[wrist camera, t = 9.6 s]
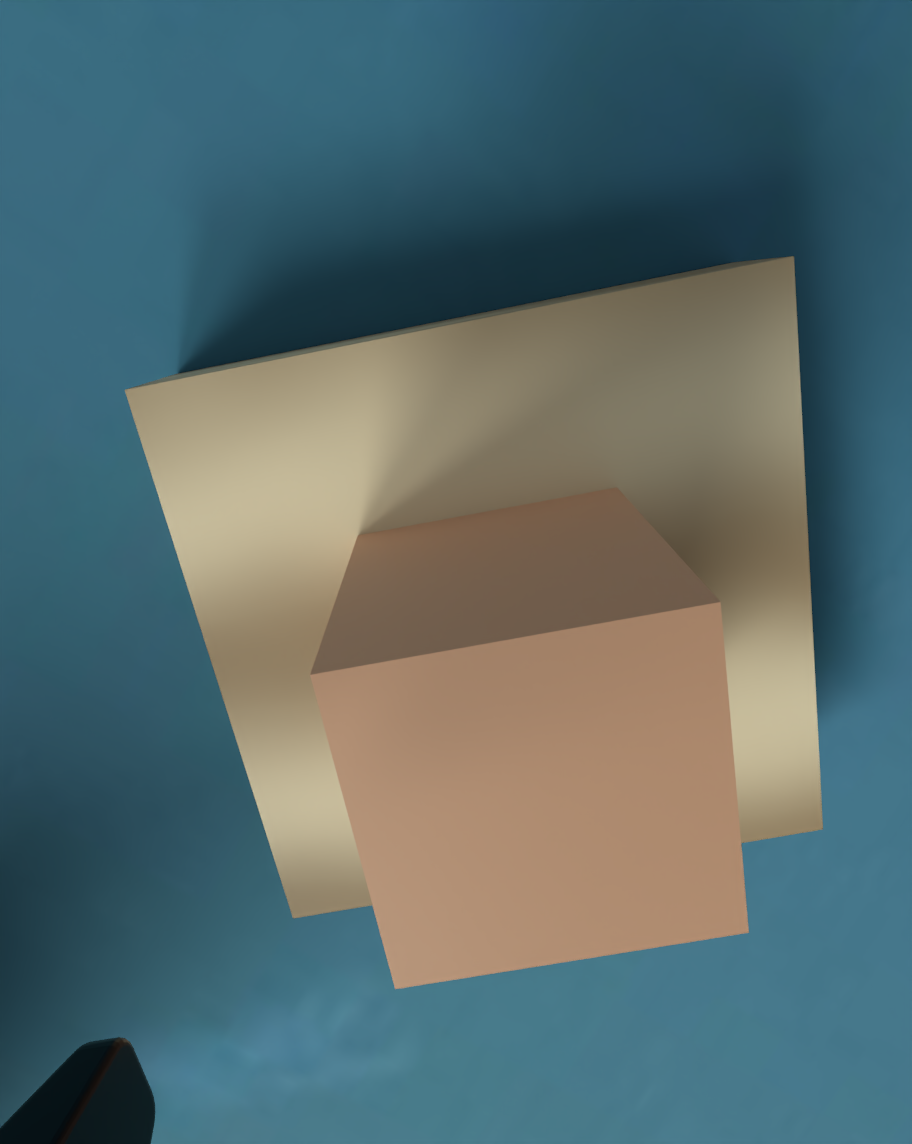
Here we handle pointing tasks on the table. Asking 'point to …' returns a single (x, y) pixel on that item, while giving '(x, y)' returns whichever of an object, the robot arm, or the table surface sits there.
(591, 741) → the terracotta block
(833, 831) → the table surface
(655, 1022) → the table surface
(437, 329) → the birch base
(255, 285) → the table surface
